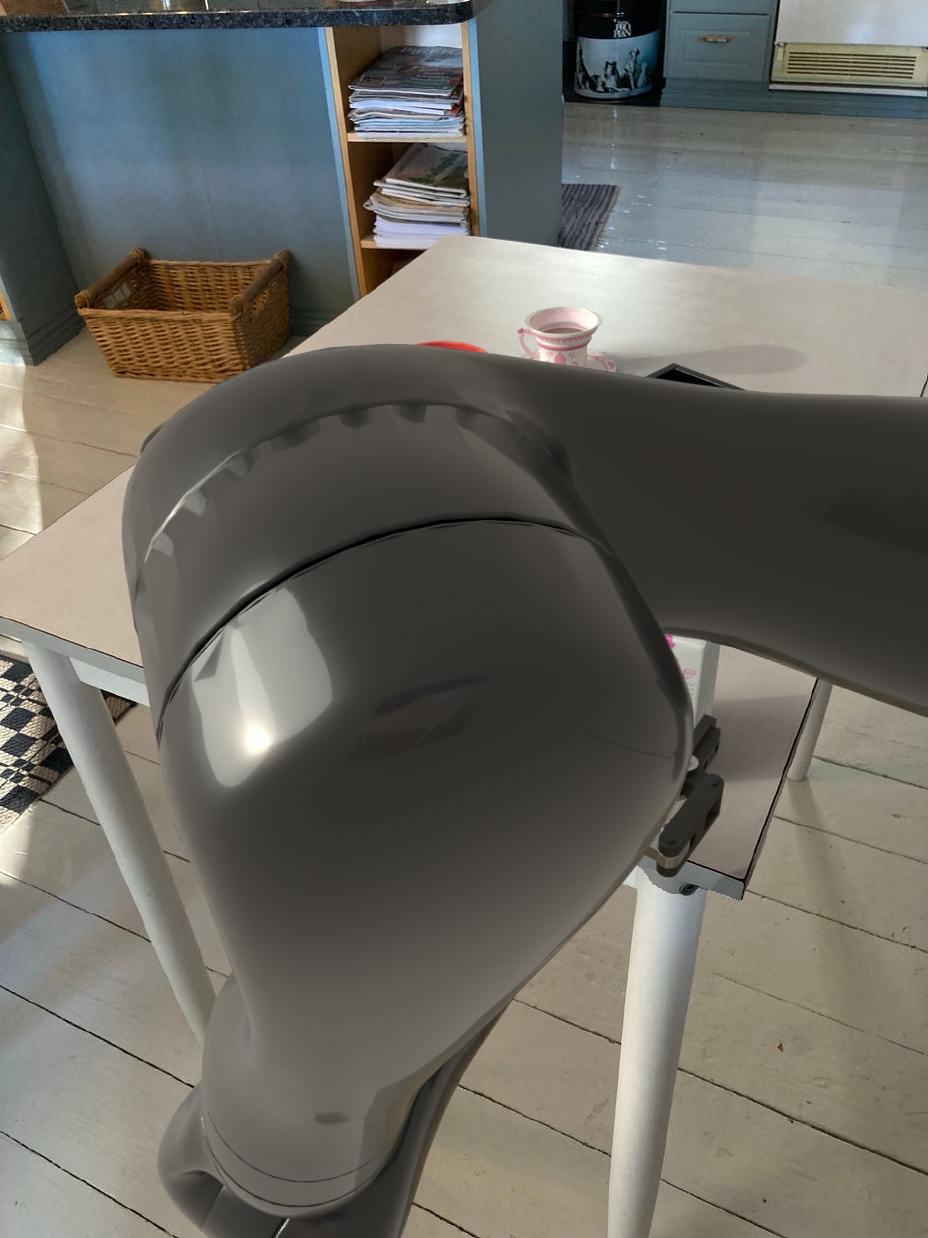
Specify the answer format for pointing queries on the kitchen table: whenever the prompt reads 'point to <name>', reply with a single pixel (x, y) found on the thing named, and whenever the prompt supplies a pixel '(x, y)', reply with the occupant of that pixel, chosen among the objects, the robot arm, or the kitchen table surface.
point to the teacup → (565, 337)
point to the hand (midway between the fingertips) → (644, 700)
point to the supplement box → (697, 671)
